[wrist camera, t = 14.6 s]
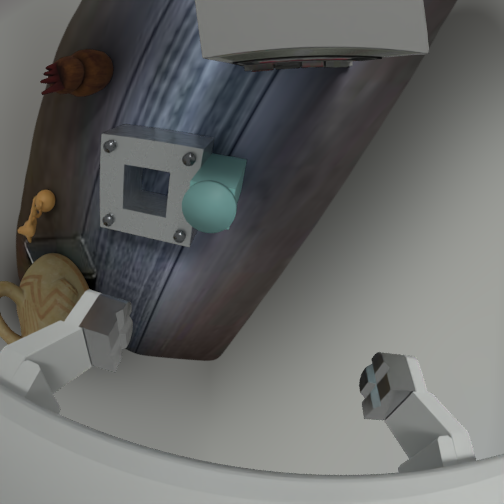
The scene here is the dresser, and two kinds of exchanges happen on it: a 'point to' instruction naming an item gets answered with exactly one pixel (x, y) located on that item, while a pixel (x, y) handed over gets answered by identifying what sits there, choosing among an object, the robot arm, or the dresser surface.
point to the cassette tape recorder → (309, 31)
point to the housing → (130, 180)
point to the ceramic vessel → (43, 294)
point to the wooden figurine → (79, 73)
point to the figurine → (43, 204)
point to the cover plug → (214, 194)
